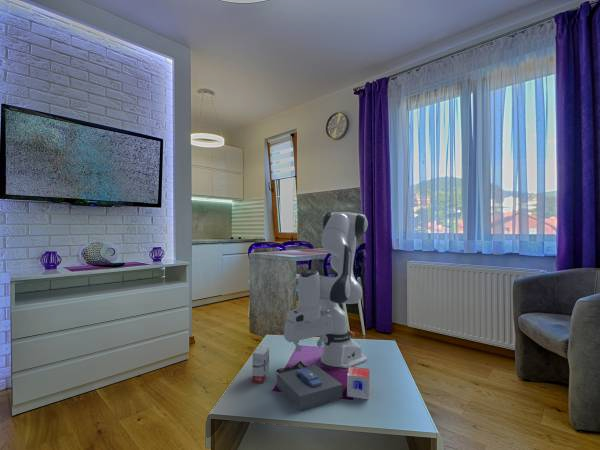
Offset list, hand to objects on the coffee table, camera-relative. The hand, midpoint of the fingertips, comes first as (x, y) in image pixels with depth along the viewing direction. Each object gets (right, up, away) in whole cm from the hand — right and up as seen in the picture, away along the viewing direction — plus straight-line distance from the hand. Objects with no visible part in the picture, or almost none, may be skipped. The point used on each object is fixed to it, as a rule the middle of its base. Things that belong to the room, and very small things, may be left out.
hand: (309, 348), depth 120 cm
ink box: (-20, -17, +10) cm, 28 cm away
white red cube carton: (+19, -17, -1) cm, 25 cm away
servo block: (0, -17, -1) cm, 17 cm away
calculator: (-7, -17, +15) cm, 24 cm away
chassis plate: (0, -16, -1) cm, 16 cm away
